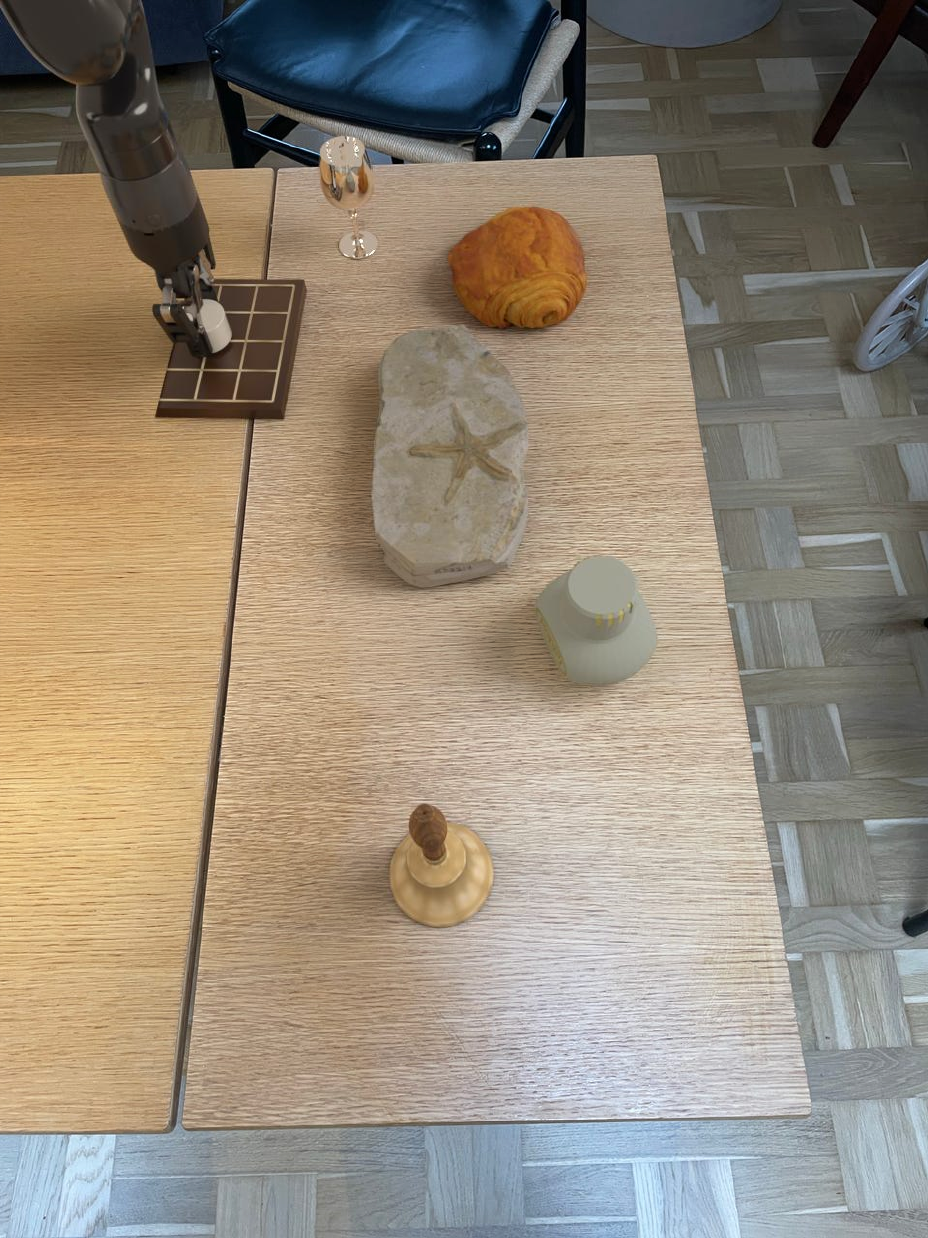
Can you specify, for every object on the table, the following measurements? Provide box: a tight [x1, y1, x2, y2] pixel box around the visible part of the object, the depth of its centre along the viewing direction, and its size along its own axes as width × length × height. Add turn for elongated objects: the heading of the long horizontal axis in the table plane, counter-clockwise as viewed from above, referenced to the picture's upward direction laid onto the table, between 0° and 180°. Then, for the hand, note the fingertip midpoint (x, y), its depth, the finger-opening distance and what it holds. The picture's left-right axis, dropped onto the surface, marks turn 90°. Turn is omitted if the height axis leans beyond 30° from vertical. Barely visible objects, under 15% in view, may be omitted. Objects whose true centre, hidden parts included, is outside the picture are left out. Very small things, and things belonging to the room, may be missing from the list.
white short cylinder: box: [186, 299, 232, 353], centre depth 101 cm, size 5×5×3 cm
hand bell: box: [388, 802, 495, 928], centre depth 71 cm, size 8×8×16 cm
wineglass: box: [318, 135, 379, 260], centre depth 105 cm, size 6×6×12 cm
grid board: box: [154, 278, 308, 420], centre depth 104 cm, size 18×18×2 cm
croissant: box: [446, 205, 588, 330], centre depth 104 cm, size 14×16×8 cm
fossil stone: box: [370, 323, 530, 589], centre depth 94 cm, size 28×15×5 cm, turn 0°
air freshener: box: [533, 554, 659, 687], centre depth 82 cm, size 11×8×10 cm
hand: (207, 334), depth 102 cm, fingers closed on white short cylinder, 4 cm apart
